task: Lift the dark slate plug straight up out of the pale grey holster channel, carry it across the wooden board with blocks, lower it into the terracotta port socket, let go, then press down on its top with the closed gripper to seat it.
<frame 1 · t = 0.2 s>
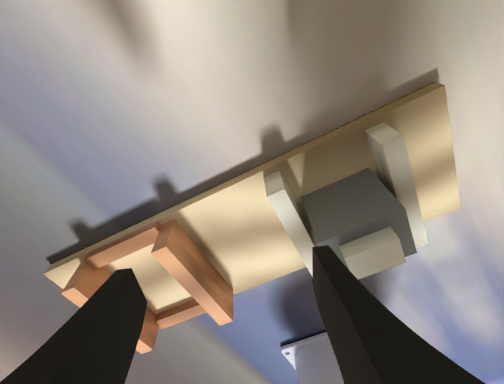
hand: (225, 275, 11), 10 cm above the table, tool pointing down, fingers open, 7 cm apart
plug: (341, 201, 21), point 1 cm above the table, touching wooden board with blocks
wooden board with blocks: (244, 234, 23), on the table
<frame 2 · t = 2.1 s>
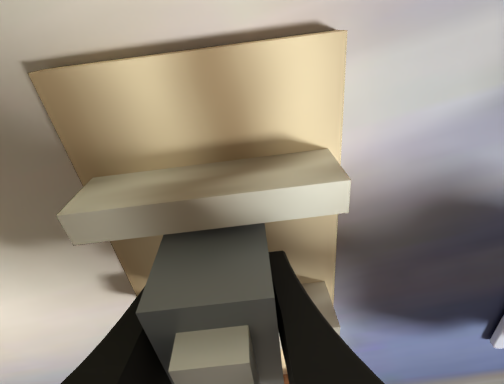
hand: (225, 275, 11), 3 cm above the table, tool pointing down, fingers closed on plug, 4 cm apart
plug: (226, 246, 13), point 1 cm above the table, touching gripper, wooden board with blocks
wooden board with blocks: (247, 331, 18), on the table
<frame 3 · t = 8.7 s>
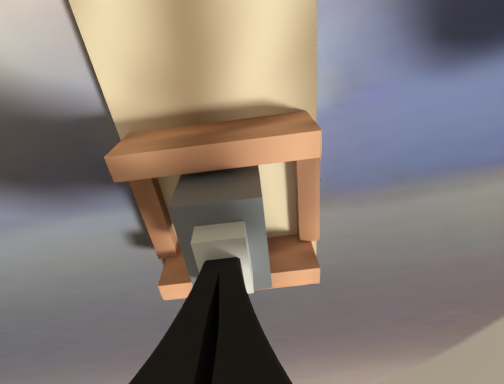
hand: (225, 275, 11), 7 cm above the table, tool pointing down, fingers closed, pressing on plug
plug: (229, 191, 16), point 1 cm above the table, touching gripper, wooden board with blocks
wooden board with blocks: (204, 42, 13), on the table
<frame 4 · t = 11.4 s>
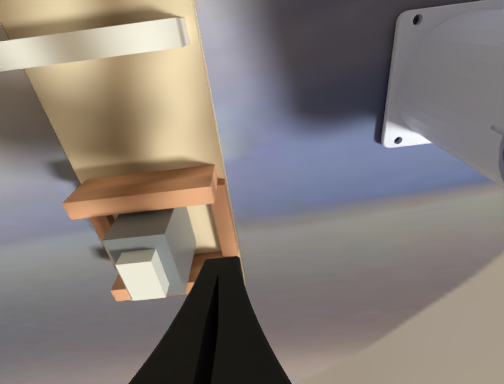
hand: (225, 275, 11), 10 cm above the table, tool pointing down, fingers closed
plug: (166, 219, 21), point 1 cm above the table, touching wooden board with blocks
wooden board with blocks: (138, 117, 18), on the table
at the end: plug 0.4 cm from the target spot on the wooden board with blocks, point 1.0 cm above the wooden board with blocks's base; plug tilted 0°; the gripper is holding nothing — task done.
